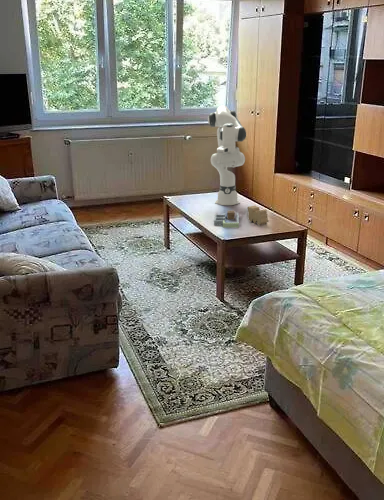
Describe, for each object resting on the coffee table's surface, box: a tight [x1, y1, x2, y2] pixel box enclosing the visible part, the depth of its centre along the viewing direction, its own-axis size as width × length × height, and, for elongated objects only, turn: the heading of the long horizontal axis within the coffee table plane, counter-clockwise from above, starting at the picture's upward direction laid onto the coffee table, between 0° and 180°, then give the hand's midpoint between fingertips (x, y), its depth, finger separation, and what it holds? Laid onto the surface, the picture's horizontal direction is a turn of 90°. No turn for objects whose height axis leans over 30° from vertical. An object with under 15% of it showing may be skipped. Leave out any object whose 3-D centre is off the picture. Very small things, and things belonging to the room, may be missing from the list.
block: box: [226, 210, 236, 220], centre depth 361 cm, size 5×5×5 cm
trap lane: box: [213, 212, 240, 229], centre depth 354 cm, size 25×16×3 cm, turn 176°
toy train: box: [247, 205, 270, 226], centre depth 350 cm, size 6×17×10 cm, turn 28°
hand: (228, 168), depth 359 cm, fingers open, 8 cm apart
